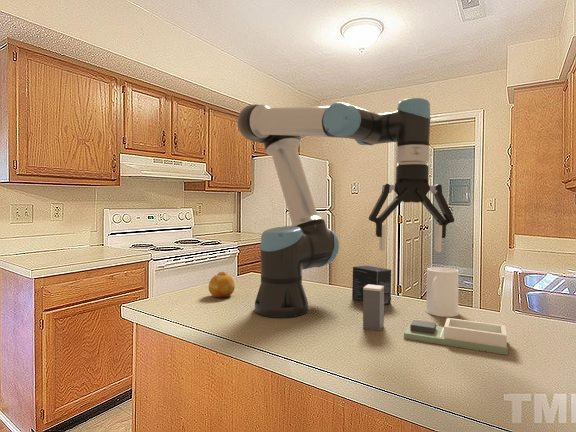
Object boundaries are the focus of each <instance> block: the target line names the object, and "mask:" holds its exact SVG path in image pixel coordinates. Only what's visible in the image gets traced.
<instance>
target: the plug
mask: <svg viewBox="0 0 576 432" xmlns="http://www.w3.org/2000/svg"><path fill="white" fill-rule="evenodd" d="M362 304H363V306H362V309H363V310H362V324H363V325H362V329H363V330H369V331H370V330H371V331H377V332H381V330H382V329H383V328H384V327H385V324H384V323H385V322H384V321H385V305H384V286H380V285H370V284H368V285H366V286H365V287H363V303H362Z"/></svg>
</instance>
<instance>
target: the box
mask: <svg viewBox="0 0 576 432" xmlns="http://www.w3.org/2000/svg"><path fill="white" fill-rule="evenodd" d="M368 284H370V285H380V286H384V306H385V305H389V304H391V303H392V299H391V297H392V269H390V268H383V267H377V266H371V265H358V266H353V267H352V292H351V293H352V294H351V297H352V300H353V301H357V302H360V303H362V304H363V287H365V286H366V285H368Z"/></svg>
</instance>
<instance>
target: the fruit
mask: <svg viewBox="0 0 576 432" xmlns="http://www.w3.org/2000/svg"><path fill="white" fill-rule="evenodd" d="M235 286H236V285H235V281H234V279H233V278H232V276H230V275H228V274H227V273H226V272H224V271H219V272H218V273H217V274H216V275H213V277H211V278H210V280H209V283H208V292H209V294H211V295H212V296H213V297H214V298H218V297H223V298H228V297H230V296H231V295H232V294H233V293H234V291H235V289H236V287H235Z"/></svg>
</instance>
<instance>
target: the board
mask: <svg viewBox="0 0 576 432" xmlns="http://www.w3.org/2000/svg"><path fill="white" fill-rule="evenodd" d="M403 339H407V340H412V341H419V342H425V343H430V344H431V343H432V344H436V345H443V346H450V347H456V348H462V349H467V350H468V349H469V350H473V351H479V350H480V352H485V351H486V352H485V353H491V352H492V354H499V355H506V356H508V355H509V353H508V352H509V350H508V349H509V348H508V345H507V346H506V348H504V347H498V346H492V345H485V344H479V343H472V342H466V341H459V340H453V339H446V338H444V326H439V325H437V323H436V322H433V321H431V322H430V321H427V320H425V321H424V320H419V319H412V321H411V322H410V323H409V324H408V326H407V328H406V329H405V330H404V333H403Z"/></svg>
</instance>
